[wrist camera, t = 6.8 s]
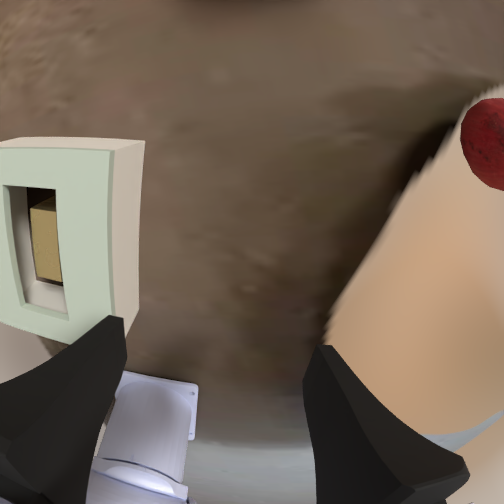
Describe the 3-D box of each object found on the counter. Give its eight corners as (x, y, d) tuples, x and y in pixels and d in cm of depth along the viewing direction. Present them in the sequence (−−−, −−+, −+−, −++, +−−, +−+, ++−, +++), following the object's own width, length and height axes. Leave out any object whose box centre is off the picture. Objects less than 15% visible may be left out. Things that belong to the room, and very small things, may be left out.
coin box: (139, 308, 22) (116, 356, 17) (32, 285, 21) (-2, 321, 16) (145, 140, 17) (109, 151, 12) (21, 137, 16) (-29, 149, 12)
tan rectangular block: (87, 254, 20) (61, 281, 17) (65, 250, 20) (37, 275, 16) (86, 193, 18) (56, 211, 15) (63, 190, 18) (30, 208, 15)
